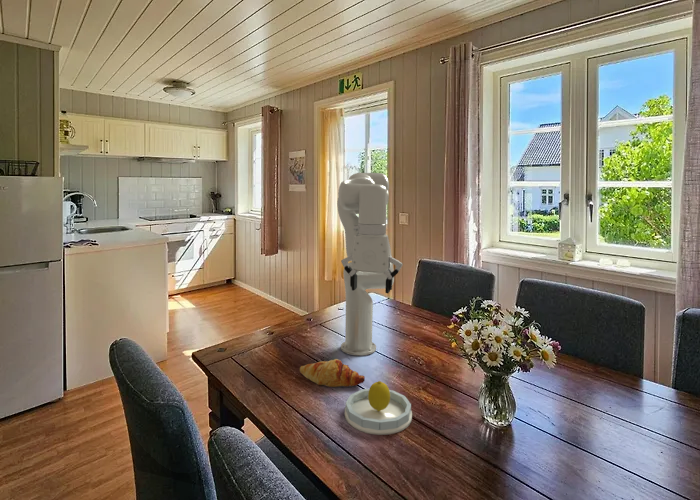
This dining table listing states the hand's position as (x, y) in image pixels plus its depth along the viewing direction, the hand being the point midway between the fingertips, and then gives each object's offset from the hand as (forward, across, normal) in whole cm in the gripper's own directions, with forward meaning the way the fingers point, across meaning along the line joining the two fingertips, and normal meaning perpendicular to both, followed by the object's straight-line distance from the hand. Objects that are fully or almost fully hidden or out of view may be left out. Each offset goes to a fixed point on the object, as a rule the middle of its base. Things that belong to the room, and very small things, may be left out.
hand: (370, 290), depth 115 cm
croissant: (+29, -12, 0) cm, 31 cm away
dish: (+28, +6, -14) cm, 32 cm away
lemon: (+28, +6, -14) cm, 32 cm away
